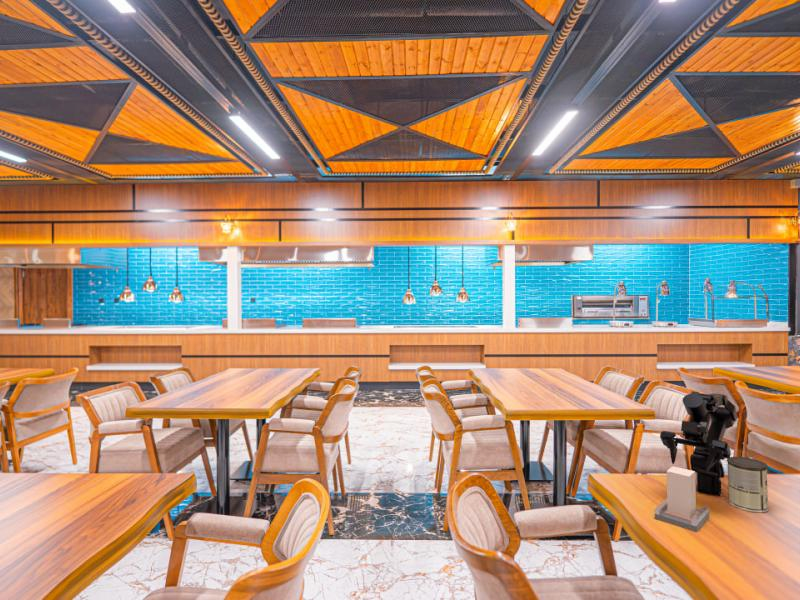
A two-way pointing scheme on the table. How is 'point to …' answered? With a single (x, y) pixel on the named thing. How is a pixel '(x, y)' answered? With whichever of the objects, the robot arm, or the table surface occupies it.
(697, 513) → the display base
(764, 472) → the coffee can
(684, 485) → the cream block
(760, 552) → the table surface
